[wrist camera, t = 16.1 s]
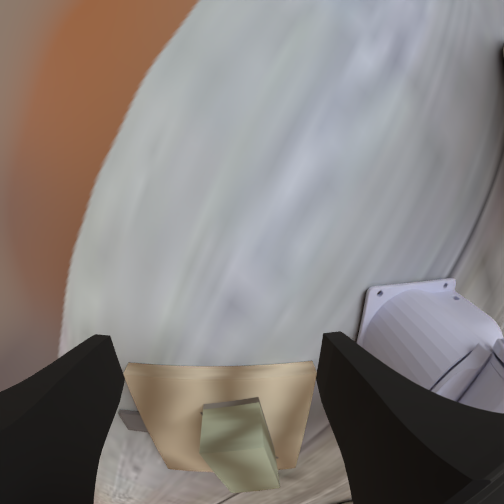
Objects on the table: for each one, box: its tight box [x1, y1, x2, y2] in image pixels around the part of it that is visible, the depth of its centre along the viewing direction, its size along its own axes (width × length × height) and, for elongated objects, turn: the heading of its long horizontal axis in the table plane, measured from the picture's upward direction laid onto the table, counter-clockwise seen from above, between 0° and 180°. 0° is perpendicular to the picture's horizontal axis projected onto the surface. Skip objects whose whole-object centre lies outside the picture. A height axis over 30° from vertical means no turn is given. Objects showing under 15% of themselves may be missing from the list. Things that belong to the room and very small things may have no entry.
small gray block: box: [118, 409, 148, 432], centre depth 22 cm, size 3×3×1 cm
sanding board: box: [123, 361, 317, 472], centre depth 22 cm, size 15×17×2 cm
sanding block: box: [199, 397, 280, 493], centre depth 18 cm, size 4×9×5 cm, turn 11°
